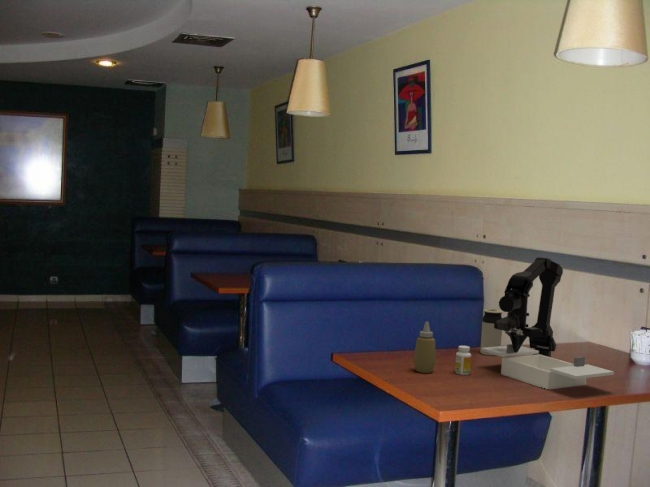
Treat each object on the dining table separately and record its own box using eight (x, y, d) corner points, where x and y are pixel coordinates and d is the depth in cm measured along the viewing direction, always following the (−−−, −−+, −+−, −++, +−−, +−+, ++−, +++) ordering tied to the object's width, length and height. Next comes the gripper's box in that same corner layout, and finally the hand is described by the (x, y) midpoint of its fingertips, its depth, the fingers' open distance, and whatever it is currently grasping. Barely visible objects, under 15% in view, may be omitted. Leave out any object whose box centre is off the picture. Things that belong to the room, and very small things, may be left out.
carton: (538, 370, 277) (539, 354, 276) (585, 384, 258) (587, 367, 257) (500, 374, 267) (502, 357, 266) (547, 389, 248) (548, 372, 248)
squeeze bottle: (438, 370, 267) (441, 321, 266) (431, 375, 260) (434, 324, 259) (416, 367, 271) (419, 319, 269) (409, 371, 263) (412, 322, 262)
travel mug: (479, 354, 299) (482, 310, 298) (481, 351, 307) (484, 308, 305) (499, 356, 297) (502, 312, 295) (500, 353, 304) (503, 309, 303)
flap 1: (517, 347, 286) (517, 337, 285) (538, 353, 276) (539, 342, 276) (481, 350, 276) (482, 340, 276) (502, 356, 267) (503, 345, 266)
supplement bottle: (471, 372, 267) (472, 346, 266) (468, 375, 262) (470, 348, 261) (456, 370, 269) (457, 344, 268) (453, 373, 264) (455, 347, 263)
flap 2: (587, 367, 257) (588, 355, 257) (613, 374, 247) (614, 362, 247) (550, 371, 247) (550, 359, 247) (576, 379, 238) (577, 367, 238)
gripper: (484, 306, 271) (481, 348, 272) (521, 314, 255) (518, 359, 256) (506, 305, 277) (503, 346, 278) (544, 313, 261) (541, 357, 262)
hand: (516, 352), depth 268 cm, fingers closed
